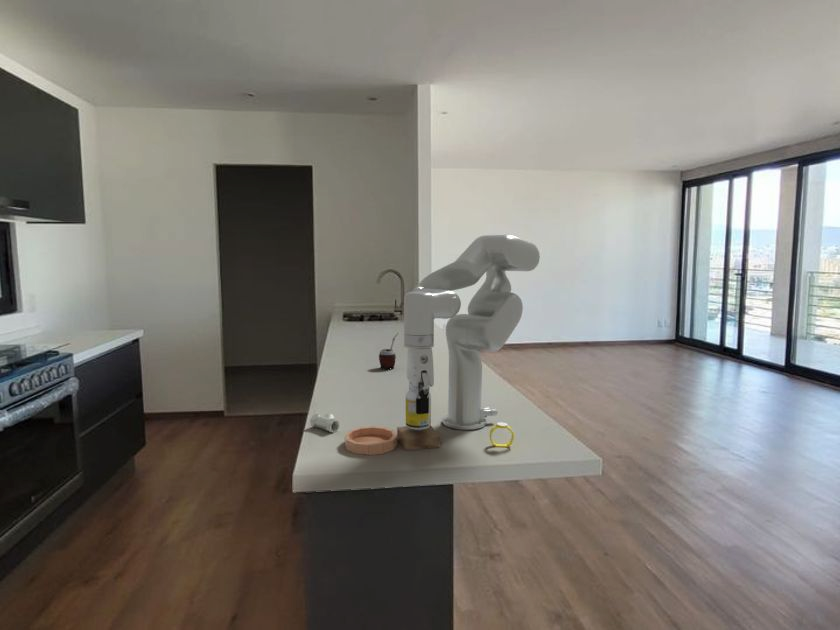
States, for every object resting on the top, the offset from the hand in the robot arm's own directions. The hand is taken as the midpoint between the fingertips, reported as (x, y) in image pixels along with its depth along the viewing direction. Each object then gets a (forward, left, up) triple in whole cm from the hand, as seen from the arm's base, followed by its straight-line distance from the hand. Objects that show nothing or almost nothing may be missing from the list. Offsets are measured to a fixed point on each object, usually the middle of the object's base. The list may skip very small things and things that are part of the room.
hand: (418, 408), depth 130 cm
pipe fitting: (+21, -17, -9) cm, 29 cm away
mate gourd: (-10, -86, -9) cm, 87 cm away
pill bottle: (0, 0, -5) cm, 5 cm away
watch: (-20, +8, -9) cm, 23 cm away
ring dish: (+12, -1, -9) cm, 15 cm away
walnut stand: (0, 0, -9) cm, 9 cm away
